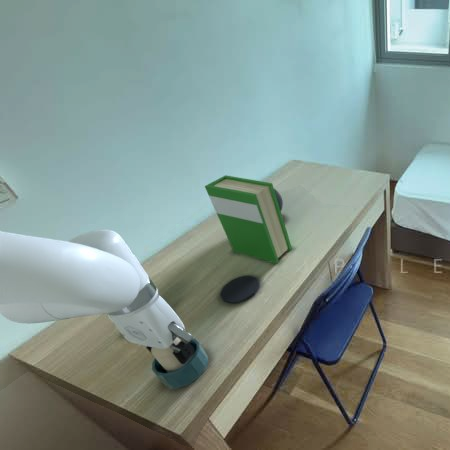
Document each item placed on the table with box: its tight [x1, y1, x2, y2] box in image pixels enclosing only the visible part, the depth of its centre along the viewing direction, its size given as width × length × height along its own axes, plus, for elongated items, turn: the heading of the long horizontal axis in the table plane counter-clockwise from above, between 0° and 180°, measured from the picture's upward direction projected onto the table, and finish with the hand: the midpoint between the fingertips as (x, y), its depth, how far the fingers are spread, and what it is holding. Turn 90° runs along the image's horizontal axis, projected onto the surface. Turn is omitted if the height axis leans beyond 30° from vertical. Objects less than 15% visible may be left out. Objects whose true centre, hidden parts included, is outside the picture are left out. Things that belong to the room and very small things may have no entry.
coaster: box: [220, 275, 260, 305], centre depth 86 cm, size 10×10×1 cm
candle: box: [150, 338, 195, 373], centre depth 64 cm, size 6×6×10 cm
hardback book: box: [204, 174, 293, 264], centre depth 94 cm, size 18×7×24 cm, turn 69°
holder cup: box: [151, 337, 209, 389], centre depth 66 cm, size 9×9×5 cm
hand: (175, 354), depth 64 cm, fingers closed on candle, 5 cm apart
